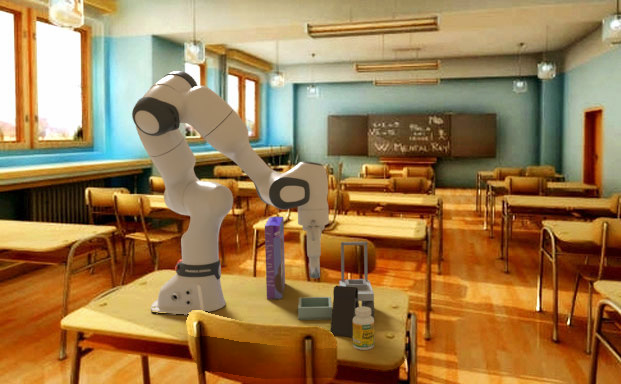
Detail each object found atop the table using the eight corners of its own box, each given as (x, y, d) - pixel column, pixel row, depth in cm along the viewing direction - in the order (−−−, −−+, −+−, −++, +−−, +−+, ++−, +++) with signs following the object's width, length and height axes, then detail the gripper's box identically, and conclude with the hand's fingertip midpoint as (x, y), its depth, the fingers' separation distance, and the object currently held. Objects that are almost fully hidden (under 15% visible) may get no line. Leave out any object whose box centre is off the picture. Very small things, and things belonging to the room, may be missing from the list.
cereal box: (281, 299, 172) (279, 225, 170) (266, 299, 173) (264, 225, 170) (285, 283, 190) (283, 216, 187) (271, 283, 190) (269, 216, 187)
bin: (298, 319, 153) (298, 307, 153) (299, 308, 163) (299, 297, 163) (332, 319, 153) (331, 307, 153) (331, 308, 163) (330, 296, 163)
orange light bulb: (321, 278, 155) (320, 251, 154) (308, 278, 155) (307, 251, 154) (321, 274, 159) (320, 248, 158) (308, 274, 159) (307, 248, 158)
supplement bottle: (364, 340, 138) (364, 303, 137) (378, 346, 134) (378, 309, 132) (348, 345, 135) (348, 308, 134) (362, 352, 131) (362, 314, 129)
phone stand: (351, 337, 140) (351, 292, 138) (329, 334, 142) (329, 290, 141) (361, 325, 148) (361, 283, 147) (341, 323, 150) (340, 281, 149)
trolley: (342, 322, 151) (341, 252, 148) (339, 306, 165) (338, 241, 162) (374, 322, 151) (373, 251, 148) (369, 305, 165) (368, 241, 162)
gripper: (324, 224, 144) (325, 274, 146) (324, 211, 164) (325, 255, 166) (301, 224, 144) (302, 275, 146) (303, 212, 165) (304, 256, 166)
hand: (314, 264), depth 156 cm, fingers closed on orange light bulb, 3 cm apart
